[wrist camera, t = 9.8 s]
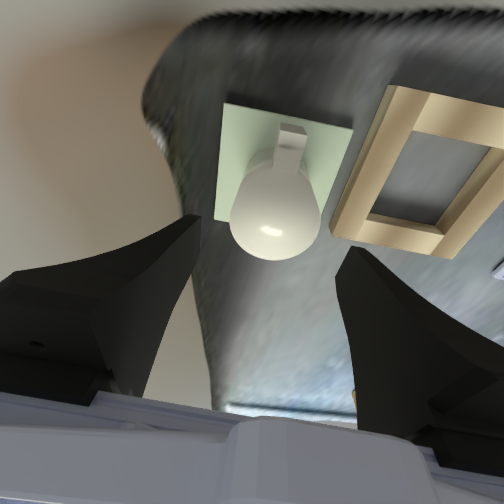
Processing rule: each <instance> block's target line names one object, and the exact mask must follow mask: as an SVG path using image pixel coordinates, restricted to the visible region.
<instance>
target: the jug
mask: <svg viewBox="0 0 504 504" xmlns="http://www.w3.org/2000/svg"><path fill="white" fill-rule="evenodd" d="M307 137H308V135H307V133H306V131H305V130H304V128H303V127H301V126H296V125H292V124H287V123H282V122H280V125H279V130H278V134H277V139H276V144H275V147H273V148H268V149H265V150H263V151H261V152H259V153H257V154H256V155H255V156H254V157H253V158H252V159H251V160H250V162H249V163H248V165H247V167H246V170H245V173H244V175H243V178H242V181H241V184H240V186H239V189H238V192H237V195H236V197H235V200H234V203H233V206H232V208H231V212H230V219H229V222H230V229H231V232H232V235H233V237H234V238H235V240H236V242H237V243H238V244H239V245H240V246H241V247H242V248H243V249H244V250H245V251H247V252H248V253H250V254H251V255H254V256H256V257H259V258H262V259H267V260H283V259H288V258H291V257H294V256H296V255H298V254H300V253H302V252H303V251H304V250H306V249H307V248H308V247H309V246H310V245H311V244H312V243H313V241H314V240H315V238H316V236H317V234H318V232H319V229H320V223H321V216H320V211H319V207H318V204H317V201H316V198H315V195H314V191H313V188H312V185H311V182H310V179H309V175H308V172H307V169H306V166H305V164H304V162H303V161H302V159H301V158H302V155H303V151H304V147H305V144H306V140H307Z"/></svg>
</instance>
